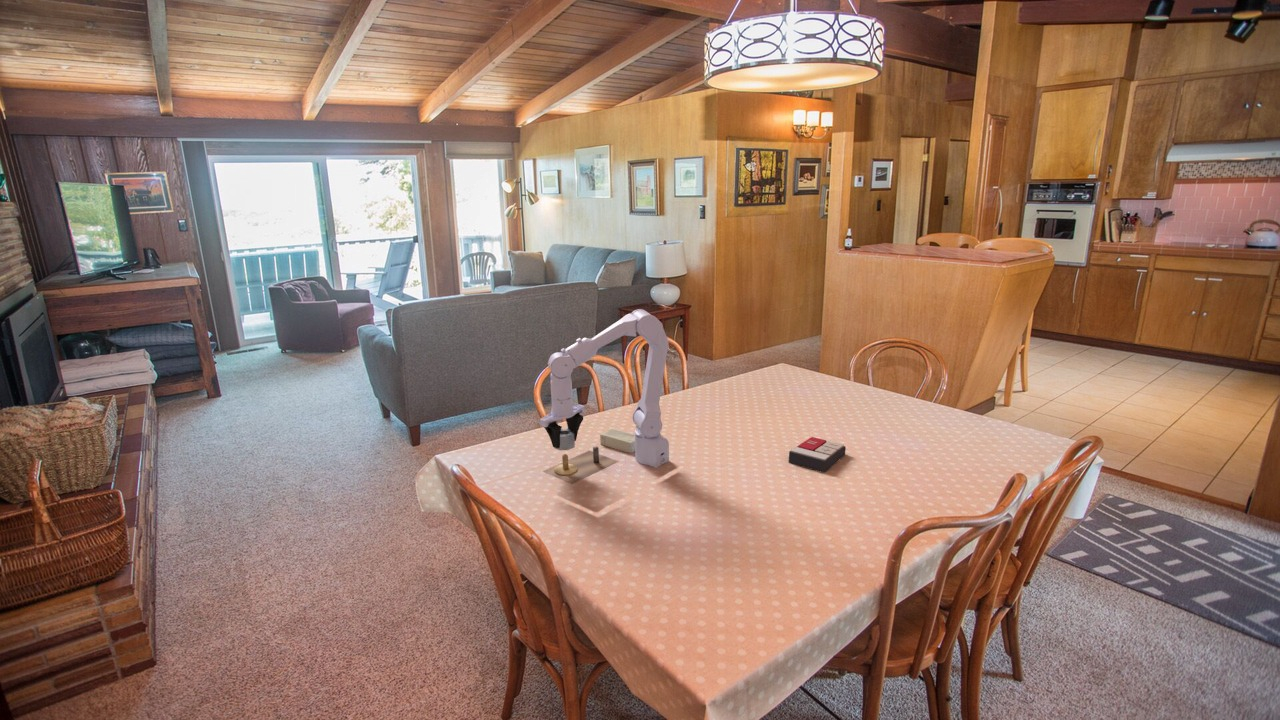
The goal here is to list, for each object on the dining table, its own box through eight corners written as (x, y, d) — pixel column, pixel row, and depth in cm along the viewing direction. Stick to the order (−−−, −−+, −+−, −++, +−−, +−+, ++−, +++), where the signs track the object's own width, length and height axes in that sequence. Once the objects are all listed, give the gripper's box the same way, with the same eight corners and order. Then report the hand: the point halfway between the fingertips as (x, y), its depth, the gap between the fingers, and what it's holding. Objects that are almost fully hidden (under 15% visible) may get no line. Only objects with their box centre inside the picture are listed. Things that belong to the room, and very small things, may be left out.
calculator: (846, 443, 181) (825, 458, 170) (845, 457, 182) (824, 473, 171) (810, 435, 188) (788, 449, 177) (809, 448, 189) (787, 463, 178)
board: (618, 464, 179) (618, 445, 177) (572, 487, 166) (571, 467, 164) (589, 453, 186) (588, 435, 185) (543, 474, 173) (541, 455, 172)
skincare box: (600, 446, 191) (630, 457, 184) (599, 433, 190) (630, 443, 182) (613, 440, 196) (643, 449, 188) (613, 427, 194) (643, 436, 187)
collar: (578, 445, 172) (578, 432, 171) (564, 451, 168) (563, 438, 167) (565, 440, 175) (564, 427, 174) (550, 446, 171) (549, 433, 170)
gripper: (571, 387, 175) (574, 432, 179) (531, 401, 165) (534, 448, 169) (589, 392, 171) (591, 438, 175) (548, 406, 160) (551, 455, 164)
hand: (564, 443), depth 171 cm, fingers closed on collar, 5 cm apart
